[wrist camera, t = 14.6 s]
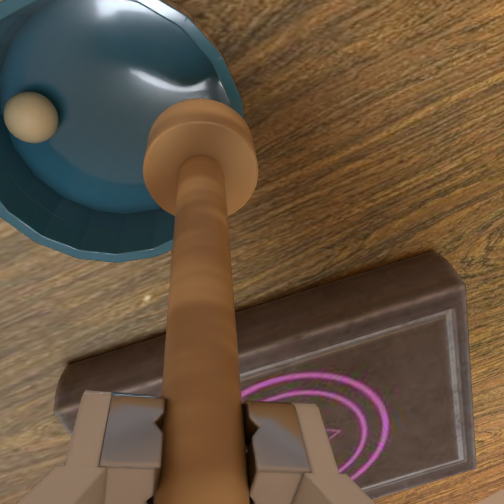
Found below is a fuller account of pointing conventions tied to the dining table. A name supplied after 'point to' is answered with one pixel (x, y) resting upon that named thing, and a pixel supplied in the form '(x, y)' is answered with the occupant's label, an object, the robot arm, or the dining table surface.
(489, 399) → the dining table surface
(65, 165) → the bowl
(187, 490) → the wooden peg stand
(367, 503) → the robot arm
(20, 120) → the beige ball
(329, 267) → the dining table surface
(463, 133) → the dining table surface
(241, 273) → the dining table surface
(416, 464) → the book
